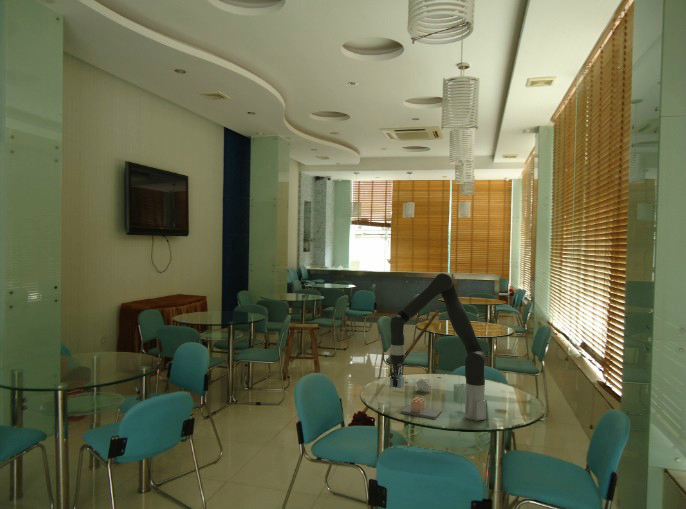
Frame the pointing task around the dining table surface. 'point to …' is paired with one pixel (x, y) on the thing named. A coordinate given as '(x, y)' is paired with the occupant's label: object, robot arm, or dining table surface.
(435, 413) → the baseplate
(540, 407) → the dining table surface
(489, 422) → the dining table surface
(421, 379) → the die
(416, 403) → the brick terracotta
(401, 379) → the brick slate
